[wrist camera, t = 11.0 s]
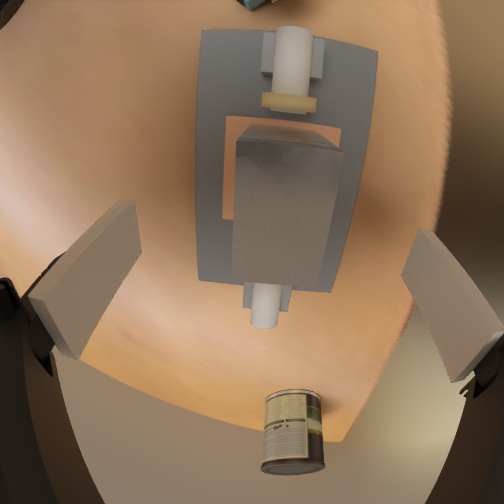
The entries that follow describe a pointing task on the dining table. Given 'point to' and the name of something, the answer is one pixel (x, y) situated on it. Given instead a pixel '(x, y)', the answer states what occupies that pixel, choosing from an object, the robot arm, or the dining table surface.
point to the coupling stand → (277, 114)
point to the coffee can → (293, 433)
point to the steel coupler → (282, 204)
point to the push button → (252, 3)
